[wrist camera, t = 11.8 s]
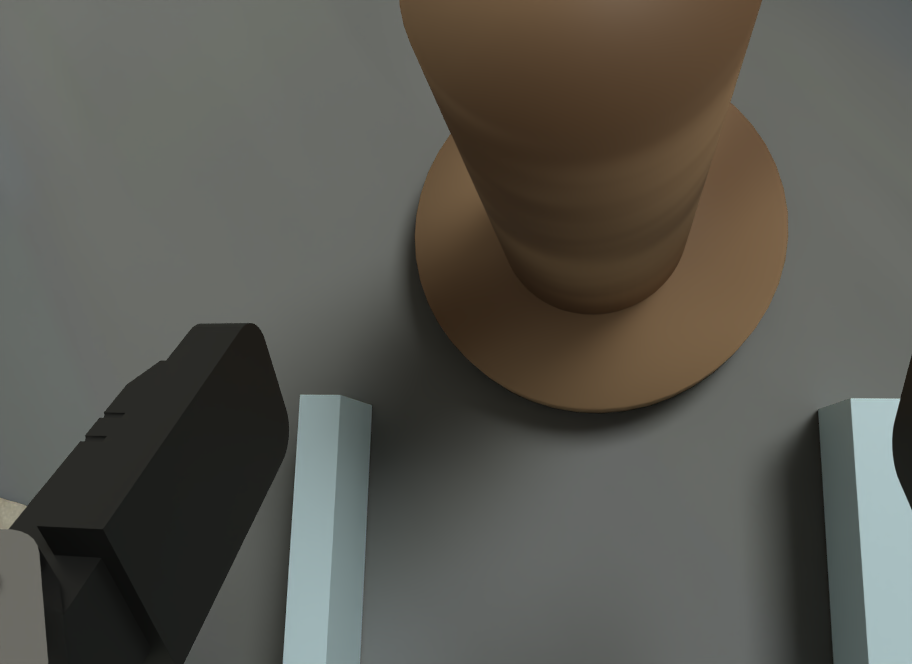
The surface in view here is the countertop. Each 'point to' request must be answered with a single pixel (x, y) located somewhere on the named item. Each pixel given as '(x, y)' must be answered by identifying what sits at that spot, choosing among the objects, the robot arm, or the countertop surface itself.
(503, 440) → the countertop surface
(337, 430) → the pale blue rack
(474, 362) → the wooden peg stand
